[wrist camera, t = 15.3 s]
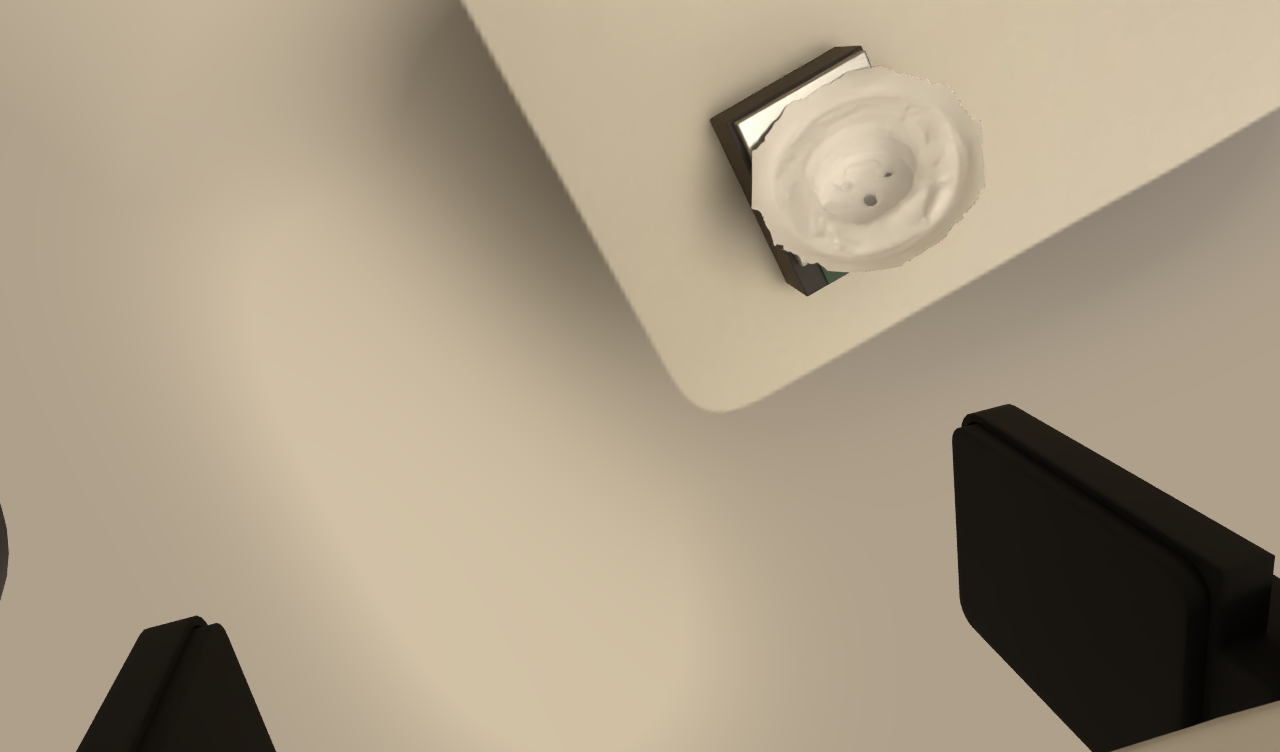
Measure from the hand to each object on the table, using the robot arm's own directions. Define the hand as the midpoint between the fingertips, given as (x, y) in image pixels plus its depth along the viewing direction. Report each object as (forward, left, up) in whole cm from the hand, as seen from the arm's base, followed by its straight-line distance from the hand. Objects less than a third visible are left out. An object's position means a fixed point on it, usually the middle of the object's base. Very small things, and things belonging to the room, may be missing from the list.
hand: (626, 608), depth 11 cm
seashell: (+12, +1, -24) cm, 27 cm away
